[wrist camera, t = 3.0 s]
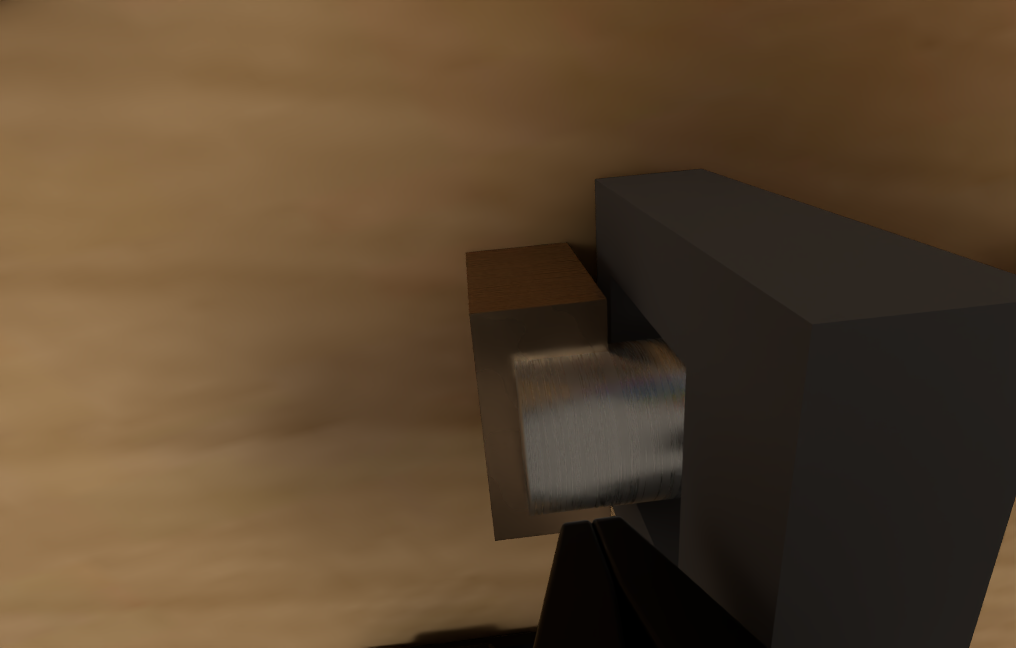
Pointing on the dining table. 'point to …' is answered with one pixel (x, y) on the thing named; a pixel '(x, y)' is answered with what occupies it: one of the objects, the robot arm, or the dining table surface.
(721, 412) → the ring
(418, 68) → the dining table surface
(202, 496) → the dining table surface
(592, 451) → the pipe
